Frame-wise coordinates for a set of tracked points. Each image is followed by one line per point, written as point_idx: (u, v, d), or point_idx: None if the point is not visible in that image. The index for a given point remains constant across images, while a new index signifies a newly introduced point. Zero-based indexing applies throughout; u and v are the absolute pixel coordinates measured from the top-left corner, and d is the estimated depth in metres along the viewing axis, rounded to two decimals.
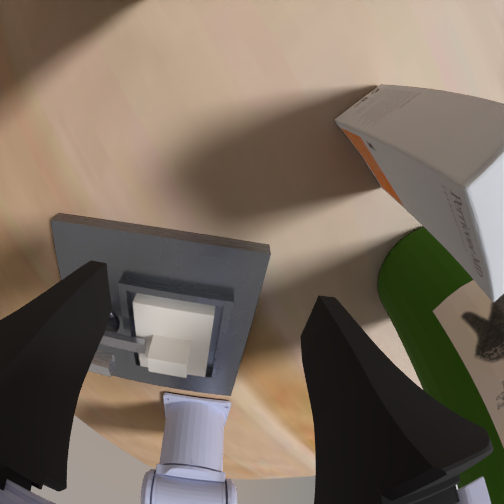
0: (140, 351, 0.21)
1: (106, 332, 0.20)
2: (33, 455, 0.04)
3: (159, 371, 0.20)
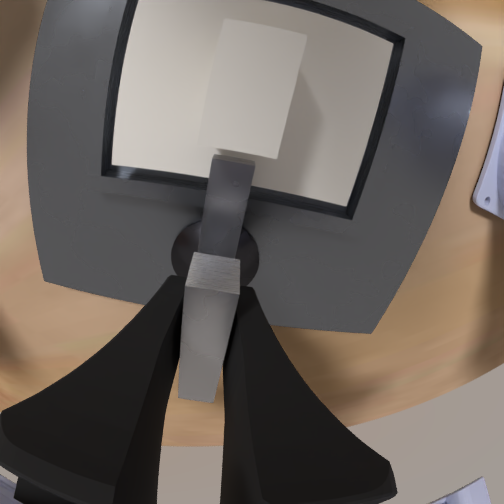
0: (244, 176, 0.08)
1: None
2: (147, 494, 0.04)
3: (274, 119, 0.06)
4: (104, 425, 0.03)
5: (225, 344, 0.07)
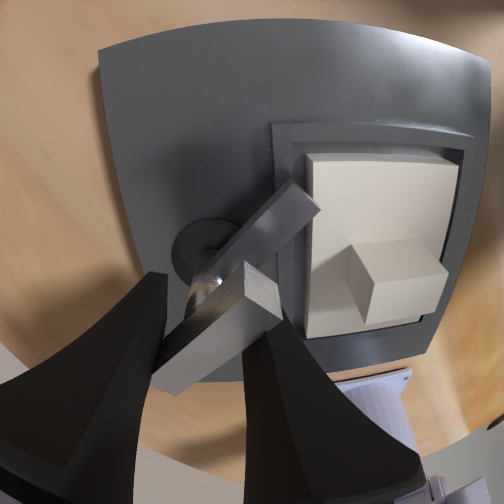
0: (308, 213, 0.09)
1: (220, 252, 0.10)
2: (115, 486, 0.04)
3: (389, 315, 0.09)
4: (64, 412, 0.03)
5: (234, 353, 0.07)
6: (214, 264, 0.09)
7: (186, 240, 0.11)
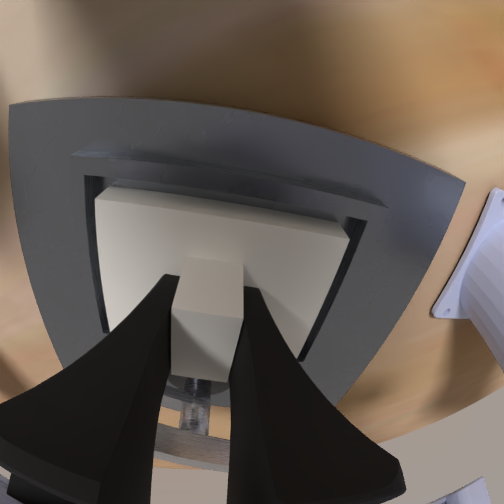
0: None
1: None
2: (138, 492, 0.04)
3: (222, 365, 0.08)
4: (93, 422, 0.03)
5: (177, 456, 0.09)
6: (172, 408, 0.12)
7: (179, 384, 0.14)
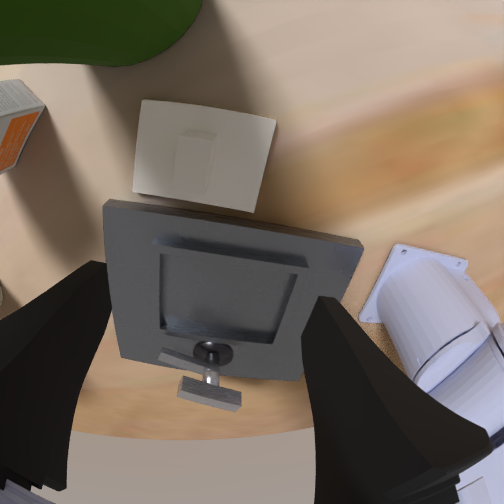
0: (164, 355, 0.21)
1: None
2: (33, 455, 0.04)
3: (201, 178, 0.15)
4: None
5: (202, 396, 0.20)
6: (197, 372, 0.23)
7: (200, 359, 0.25)
